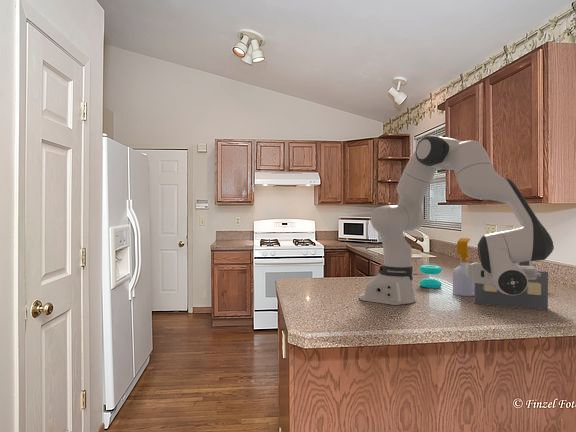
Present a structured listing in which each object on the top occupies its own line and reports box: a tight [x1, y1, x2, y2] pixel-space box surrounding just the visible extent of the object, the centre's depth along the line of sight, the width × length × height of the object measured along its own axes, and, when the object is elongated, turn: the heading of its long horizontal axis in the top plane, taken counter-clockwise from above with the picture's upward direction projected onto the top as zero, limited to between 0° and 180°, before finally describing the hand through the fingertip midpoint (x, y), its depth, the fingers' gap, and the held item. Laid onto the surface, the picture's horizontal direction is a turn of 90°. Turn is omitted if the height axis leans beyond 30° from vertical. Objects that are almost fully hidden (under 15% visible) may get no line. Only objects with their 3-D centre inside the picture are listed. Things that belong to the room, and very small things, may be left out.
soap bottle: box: [452, 237, 475, 297], centre depth 160 cm, size 9×9×25 cm
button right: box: [525, 281, 541, 295], centre depth 136 cm, size 4×7×4 cm, turn 158°
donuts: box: [419, 264, 443, 289], centre depth 177 cm, size 10×10×10 cm
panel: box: [473, 261, 549, 310], centre depth 141 cm, size 24×3×19 cm, turn 68°
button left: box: [483, 284, 497, 292], centre depth 142 cm, size 4×7×4 cm, turn 157°
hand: (496, 268), depth 126 cm, fingers closed
